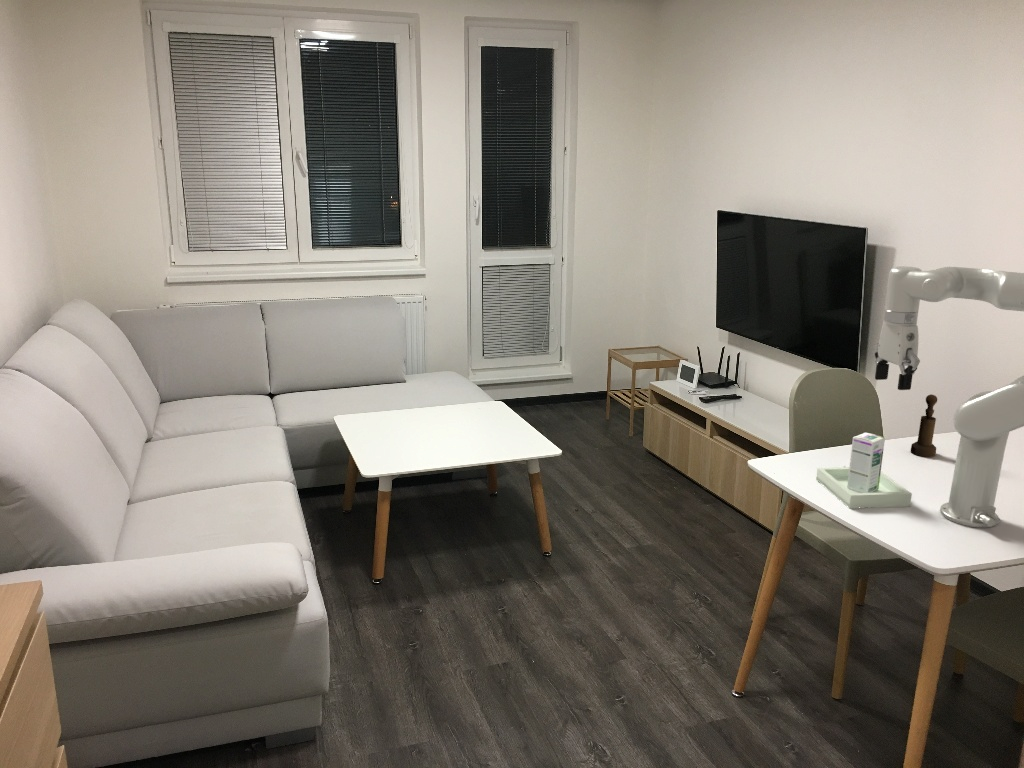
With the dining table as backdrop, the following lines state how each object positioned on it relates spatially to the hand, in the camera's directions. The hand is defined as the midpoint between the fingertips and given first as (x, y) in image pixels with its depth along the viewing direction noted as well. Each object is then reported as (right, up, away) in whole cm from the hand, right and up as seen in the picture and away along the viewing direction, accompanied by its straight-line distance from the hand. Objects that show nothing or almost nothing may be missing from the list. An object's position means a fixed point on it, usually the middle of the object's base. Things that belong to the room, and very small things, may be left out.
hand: (892, 384), depth 207 cm
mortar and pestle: (+25, -21, +35) cm, 48 cm away
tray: (-5, -28, +7) cm, 29 cm away
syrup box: (-5, -27, +7) cm, 29 cm away
